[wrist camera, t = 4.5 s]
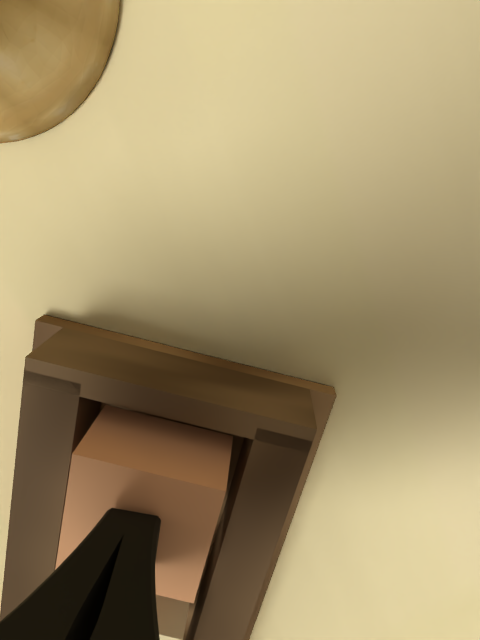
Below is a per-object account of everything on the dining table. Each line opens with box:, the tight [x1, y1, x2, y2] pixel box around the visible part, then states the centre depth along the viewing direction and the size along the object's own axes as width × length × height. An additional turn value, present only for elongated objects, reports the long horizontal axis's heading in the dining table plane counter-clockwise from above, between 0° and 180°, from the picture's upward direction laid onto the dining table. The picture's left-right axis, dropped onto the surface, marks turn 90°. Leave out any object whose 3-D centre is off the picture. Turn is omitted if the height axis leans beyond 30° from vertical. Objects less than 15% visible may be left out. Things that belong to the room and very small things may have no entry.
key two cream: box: [156, 595, 190, 640], centre depth 15 cm, size 4×4×3 cm
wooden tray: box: [0, 315, 336, 640], centre depth 17 cm, size 10×18×3 cm, turn 166°
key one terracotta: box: [55, 405, 233, 604], centre depth 13 cm, size 4×4×3 cm
